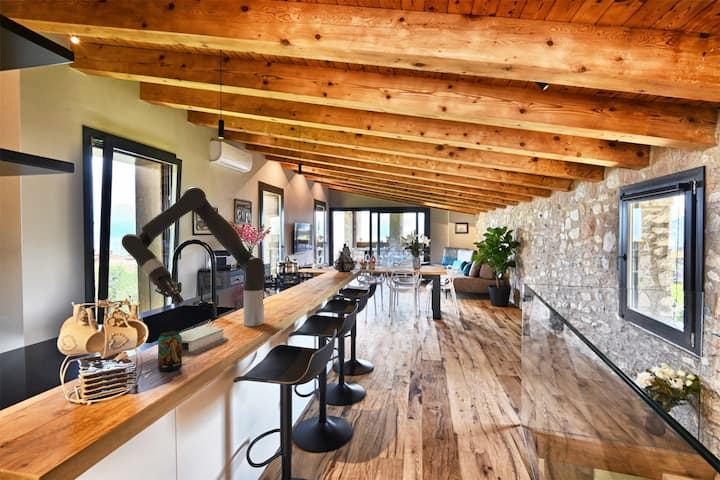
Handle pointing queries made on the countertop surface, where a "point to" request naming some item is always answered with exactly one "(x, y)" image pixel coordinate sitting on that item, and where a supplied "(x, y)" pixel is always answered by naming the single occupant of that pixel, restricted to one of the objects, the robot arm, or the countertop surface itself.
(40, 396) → the countertop surface
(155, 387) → the countertop surface
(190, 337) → the cover
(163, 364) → the beverage can
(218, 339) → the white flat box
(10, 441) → the countertop surface
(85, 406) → the countertop surface
